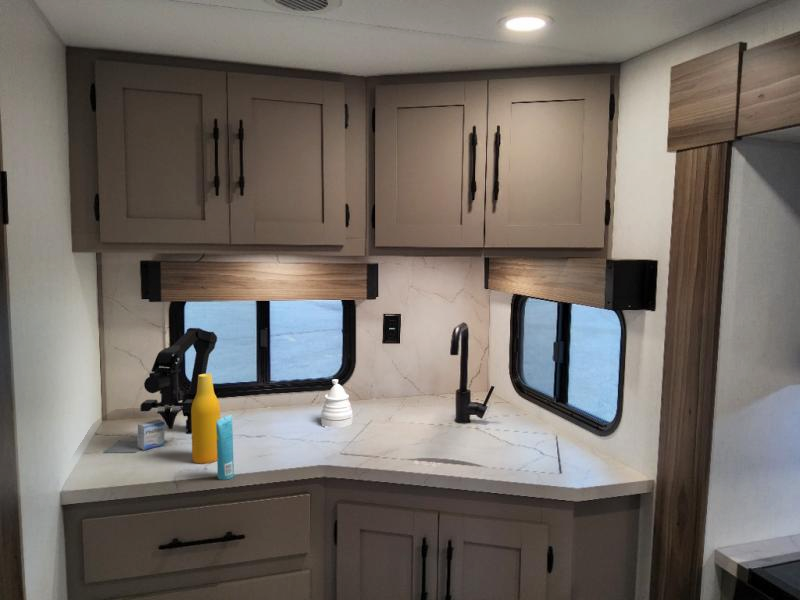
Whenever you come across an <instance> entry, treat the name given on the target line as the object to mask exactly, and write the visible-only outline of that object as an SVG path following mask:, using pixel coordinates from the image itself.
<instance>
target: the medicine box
mask: <svg viewBox="0 0 800 600" xmlns="http://www.w3.org/2000/svg"><path fill="white" fill-rule="evenodd" d="M165 426H166V422H165V421H164V420H161V419H156V420H151V421H145V422H143V423H137V440H138V447H139V448H141V449H140V450H143V451H146V450H151V449H153V448H157V447H161V445H162V446H164V445H165V435H166V434H165V431H166V429H165V428H166V427H165Z"/></svg>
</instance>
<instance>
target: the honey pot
mask: <svg viewBox="0 0 800 600" xmlns="http://www.w3.org/2000/svg"><path fill="white" fill-rule="evenodd" d="M331 382H332V383H331V384H332V385H333V386H332V387H331V388H330V389H329V392H328V393H326V394H325V395H324V399H325V402H324V403H323V407H322V409H321V413H320V414H321V419H320V421H321V423H322V425H324V426H328V427H345V426H349V425H351V424H352V423H353V424H354V416H353V415H354V414H353V413H354V410H353V408H352V405H351V402H350V400H349V397H350V395H349V394H348V393H346V390H345V389H344V387H343V386H342V385H341V384H339V379H336V378H335V379H331ZM321 423H320V424H321ZM322 425H321V426H322Z"/></svg>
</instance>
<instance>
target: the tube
mask: <svg viewBox="0 0 800 600" xmlns="http://www.w3.org/2000/svg"><path fill="white" fill-rule="evenodd" d="M216 423H217V461H216V462H217V463H216V464H217V467H216V469H217V479H218V480H220V481H221V480H224V481H225V480H229V479H232V478H233V477H234V476H235V471H234V470H235V469H234V468H235V467H234V466H235V465H234V462H235V461H234V436H233V435H234V433H233V431H234V430H233V415H232V414H231V413H230V414H227V415H226V416H225V417H221V418H220V419H219V420H217V422H216Z"/></svg>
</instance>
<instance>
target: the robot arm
mask: <svg viewBox="0 0 800 600" xmlns="http://www.w3.org/2000/svg"><path fill="white" fill-rule="evenodd" d="M217 342H218V336H217V335H216V334H215V332H214V331H207V330H204V329H202V328H200V327H188V328H187V329H186V332H185V333H184V334H183V335H182V336H180V337H179V338H178V340H176V341H175V342H174V343H173V344H172V345H171V346H168V347H165V348H163V349H162V350H160V351H159V352H158V353H157V356H156V358H155V359H154V363H153V366H152V368H151V371H150V372H149V373H148V374H149V377H147V378H146V379H145V380H144V383H143V384H144V385H143V386H144V389H145V390H146V391H147V392H148V393H150V394H155V393H158V392H159V394H160V399H161V401H160V402H158V399H146V400H145V401H143V402H142V403H140V406H139V408H140V412H150V411H151V410H152V409H157V412H156V414H159V415H160V416H161V418H162V419H163V422H165V425H166V426H167V428H168V429H169V430H172V429H173V427H174V424H175V422H176V421H175V420H176V418H177V416H178V414H179V413H180V412H182V415H183V417H186V418H187V419H186V420H185V430H186V432H185V433H186V434H192V420H191V408H192V403H193V401H194V398H195V396H196V394H197V386H198V376H199V375H200V374H207V371H208V370H207V369H208V363H209V358H210V355H211V353H212V352H213V350H214V349H215V347H216V344H217ZM192 346H193V348H194V351H195V358H194V362H193V369H192V375H191V380H190V386H189V389H188V391H187V392H186V393H185V392H184V391H182V390H180V386H179V372H181V371H182V369H181V368H180V367H179V366H180V364H181V363H182V362H183V359H184V358H183V357H184V354H185V353H186V352H187V351H188V350H189V349H190V348H191V347H192Z"/></svg>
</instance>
